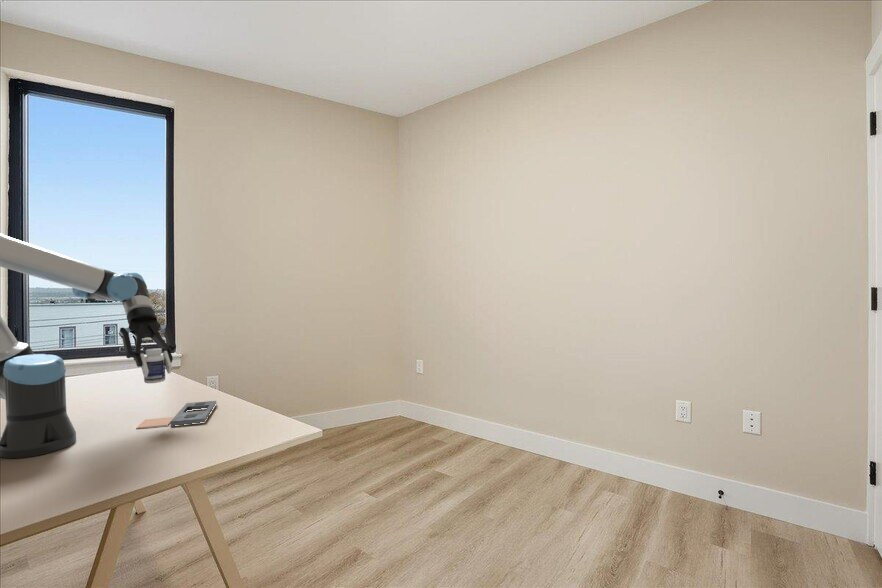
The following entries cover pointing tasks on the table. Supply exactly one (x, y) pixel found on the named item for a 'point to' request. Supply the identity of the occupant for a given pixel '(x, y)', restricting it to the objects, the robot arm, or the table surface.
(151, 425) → the coaster
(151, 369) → the pill bottle
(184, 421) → the holder
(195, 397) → the table surface
